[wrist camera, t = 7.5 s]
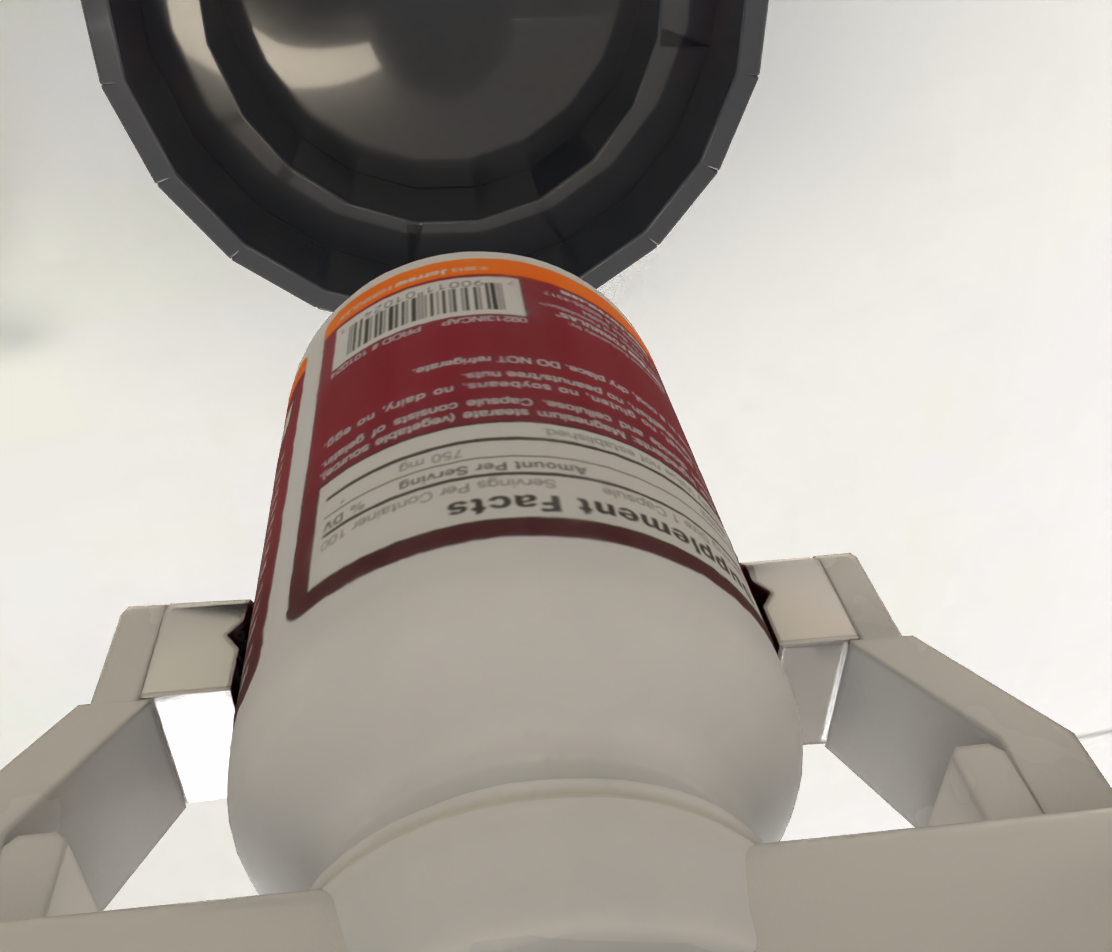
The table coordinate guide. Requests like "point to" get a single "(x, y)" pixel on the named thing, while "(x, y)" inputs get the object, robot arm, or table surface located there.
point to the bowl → (428, 125)
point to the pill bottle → (503, 637)
